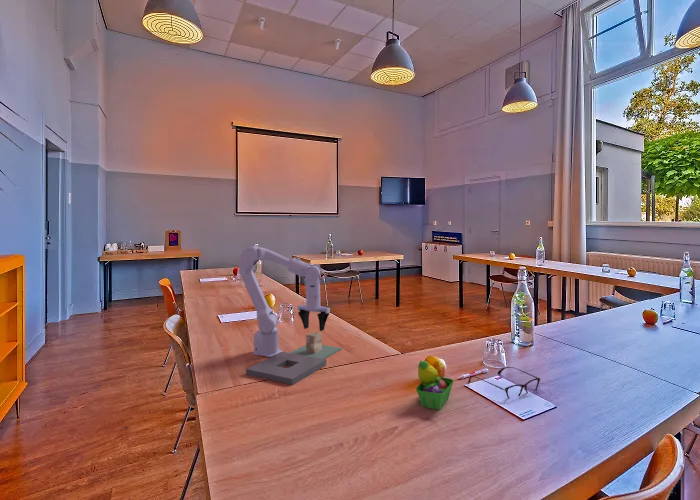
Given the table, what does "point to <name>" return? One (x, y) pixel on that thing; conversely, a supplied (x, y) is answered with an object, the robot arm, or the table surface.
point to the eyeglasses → (513, 385)
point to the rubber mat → (321, 354)
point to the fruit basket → (432, 386)
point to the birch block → (313, 342)
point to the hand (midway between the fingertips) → (314, 329)
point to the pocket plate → (291, 375)
